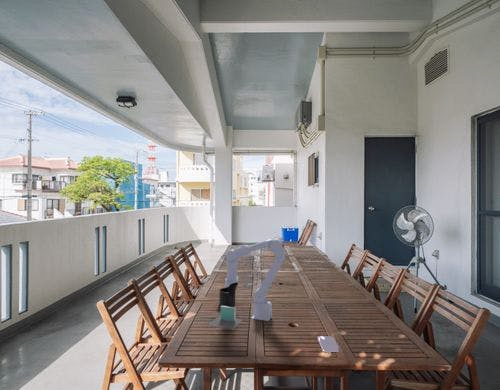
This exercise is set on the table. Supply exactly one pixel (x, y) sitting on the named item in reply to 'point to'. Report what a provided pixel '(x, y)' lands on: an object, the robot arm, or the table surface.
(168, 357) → the table surface
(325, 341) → the mobile phone
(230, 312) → the tile
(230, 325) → the mat
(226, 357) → the table surface
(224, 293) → the mug
